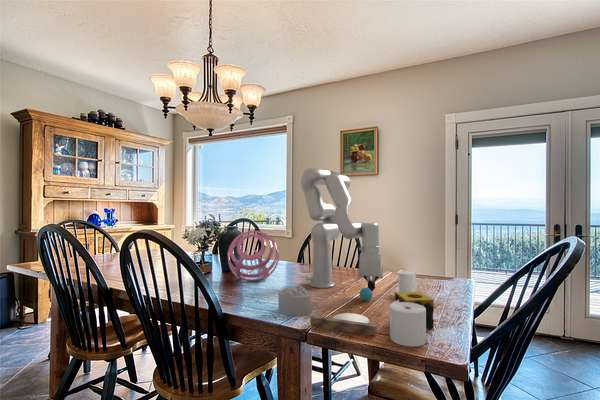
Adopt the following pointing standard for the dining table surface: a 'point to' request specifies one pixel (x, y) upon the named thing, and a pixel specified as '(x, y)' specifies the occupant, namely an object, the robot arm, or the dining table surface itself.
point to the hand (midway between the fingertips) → (371, 290)
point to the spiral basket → (253, 257)
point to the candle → (421, 300)
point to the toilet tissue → (407, 323)
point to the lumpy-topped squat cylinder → (294, 301)
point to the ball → (365, 294)
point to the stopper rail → (344, 325)
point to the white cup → (406, 281)
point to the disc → (352, 317)
